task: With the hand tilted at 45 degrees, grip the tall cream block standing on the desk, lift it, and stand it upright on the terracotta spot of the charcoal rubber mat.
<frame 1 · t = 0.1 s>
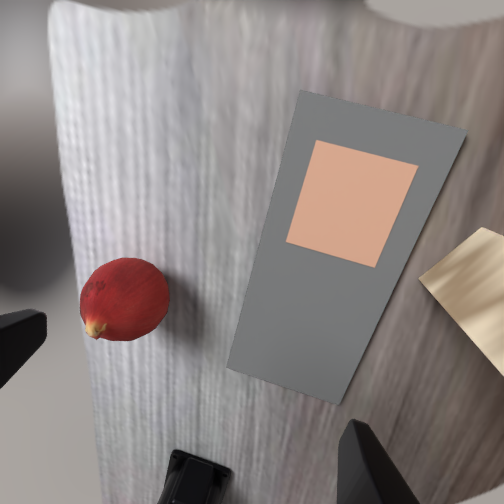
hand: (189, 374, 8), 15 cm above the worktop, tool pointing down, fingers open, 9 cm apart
mat: (322, 269, 22), on the worktop
cream block: (465, 269, 20), on the worktop
onion: (154, 276, 25), on the worktop
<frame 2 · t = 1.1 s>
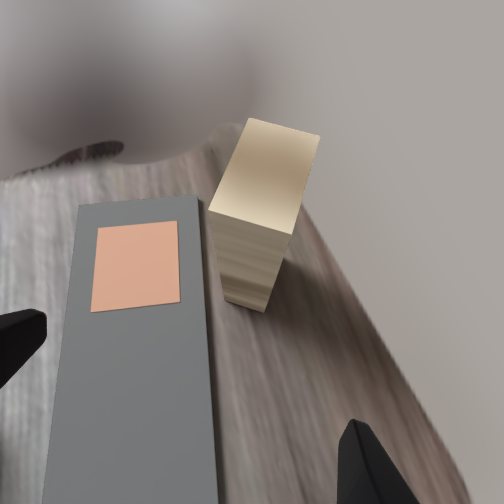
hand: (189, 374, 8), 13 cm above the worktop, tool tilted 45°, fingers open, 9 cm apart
mat: (138, 329, 22), on the worktop
cream block: (253, 277, 24), on the worktop
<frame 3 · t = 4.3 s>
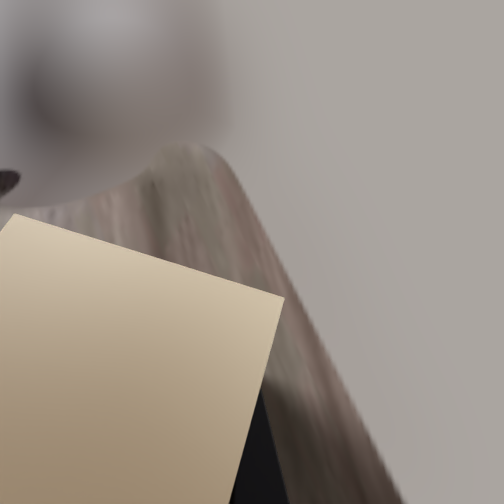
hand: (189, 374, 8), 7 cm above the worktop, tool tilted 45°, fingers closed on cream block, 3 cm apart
cream block: (201, 408, 14), on the worktop, touching gripper
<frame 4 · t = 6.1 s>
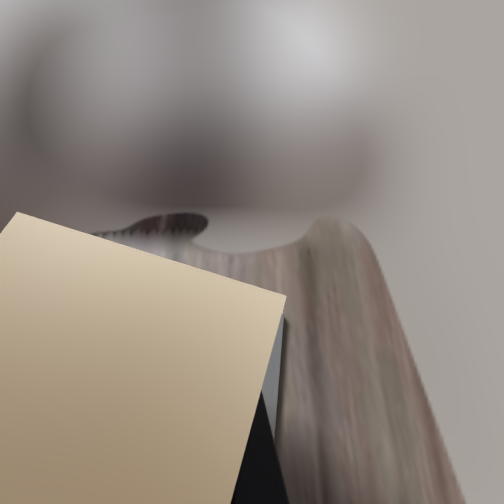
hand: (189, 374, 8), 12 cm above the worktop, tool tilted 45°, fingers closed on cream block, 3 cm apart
mat: (182, 493, 17), on the worktop
cream block: (201, 408, 14), point 5 cm above the worktop, touching gripper
when the fingers open (9 cm above the worktop, at t = 7.7 s): cream block drops 1 cm, resting on mat.
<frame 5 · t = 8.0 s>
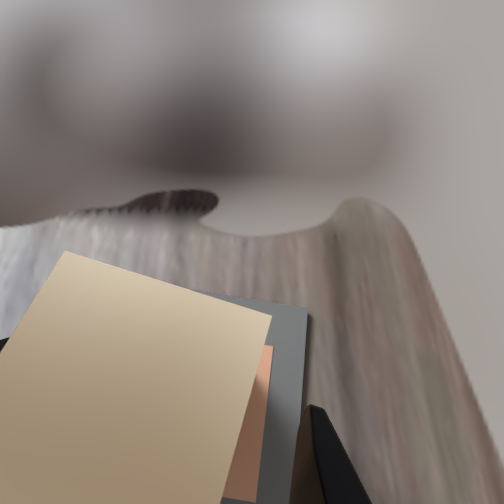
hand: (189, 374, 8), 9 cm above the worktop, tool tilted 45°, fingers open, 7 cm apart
cream block: (203, 405, 15), point 1 cm above the worktop, touching mat
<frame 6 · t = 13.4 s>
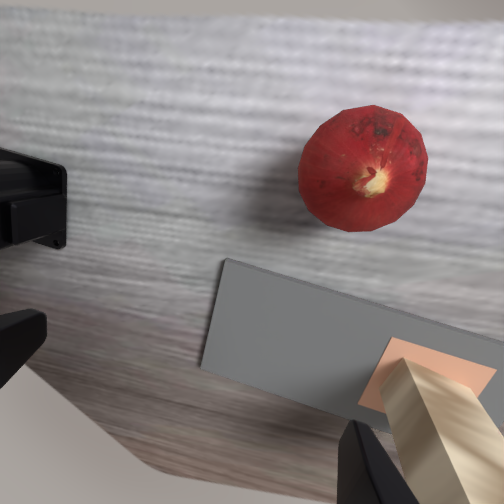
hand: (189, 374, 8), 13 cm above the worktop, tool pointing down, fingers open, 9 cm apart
mat: (352, 359, 22), on the worktop
cream block: (423, 388, 21), point 1 cm above the worktop, touching mat
onion: (348, 168, 18), on the worktop
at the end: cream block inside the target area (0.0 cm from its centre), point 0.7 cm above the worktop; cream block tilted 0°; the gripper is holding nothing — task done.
